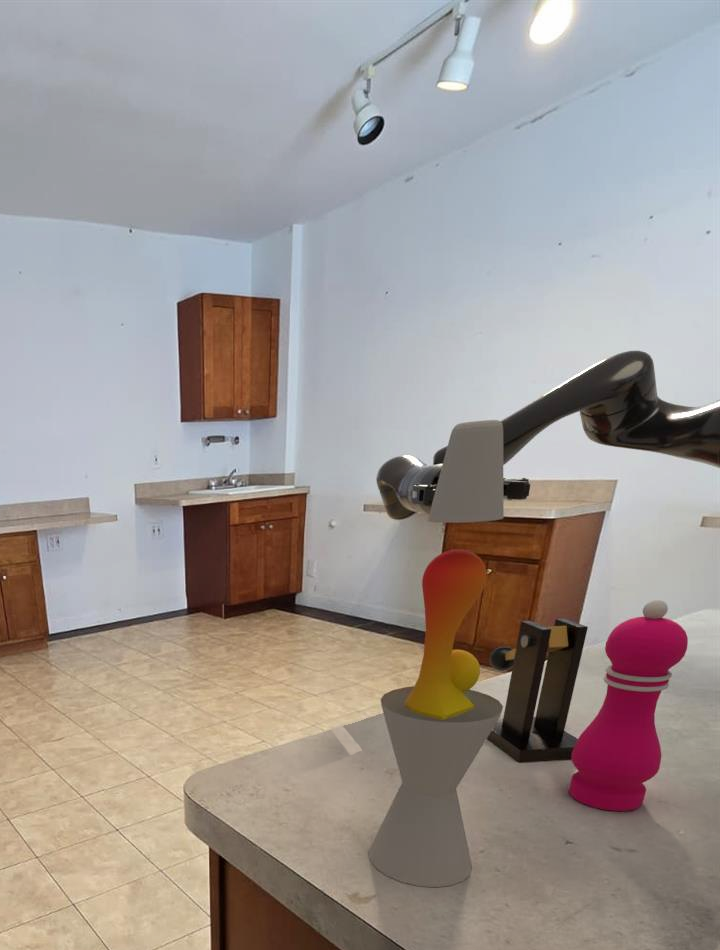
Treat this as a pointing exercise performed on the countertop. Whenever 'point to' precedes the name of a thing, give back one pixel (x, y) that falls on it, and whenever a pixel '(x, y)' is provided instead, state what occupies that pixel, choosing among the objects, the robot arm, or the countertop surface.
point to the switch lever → (505, 655)
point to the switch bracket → (546, 730)
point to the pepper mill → (628, 713)
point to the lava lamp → (443, 682)
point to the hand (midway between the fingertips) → (493, 493)
